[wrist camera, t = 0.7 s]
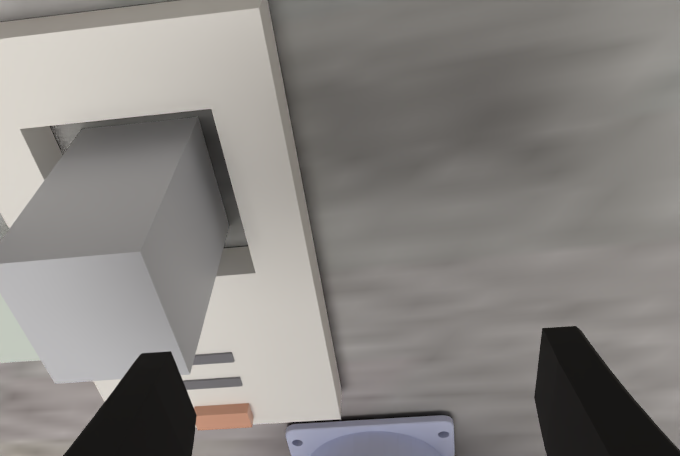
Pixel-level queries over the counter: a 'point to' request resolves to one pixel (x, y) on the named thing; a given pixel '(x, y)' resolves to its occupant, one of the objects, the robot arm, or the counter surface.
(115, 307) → the block
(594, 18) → the counter surface
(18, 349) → the pad
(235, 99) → the power strip
